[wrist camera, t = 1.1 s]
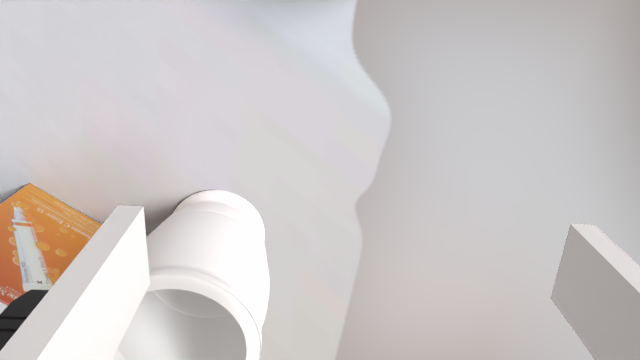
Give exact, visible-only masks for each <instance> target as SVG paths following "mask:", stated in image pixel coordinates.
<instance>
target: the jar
mask: <svg viewBox="0 0 640 360" xmlns="http://www.w3.org/2000/svg"><path fill="white" fill-rule="evenodd" d="M146 241H147V253H148V265H149V276H150V285H149V287H148V289H147V291H146V293H145V295H144V297H143V299H142V301H141V303H140V305H139V306H138V308H137V310H136V312H135V314H134V316H133V318H132V320H131V322H130V324H129V326H128V328H127V330H126V332H125V334H124V336H123V338H122V340H121V342H120V344H119V346H118V348H117V350H116V352H115V354H114V356H113V358H112V360H260V356H261V348H262V335H261V328H262V326H263V323H264V319H265V316H266V312H267V307H268V301H269V289H270V281H269V270H268V265H267V255H266V249H265V245H264V241H265V229H264V224H263V221H262V219H261V217H260V215H259V213H258V212H257V210H256V209H255V208H254V207H253V206H252V205H251V204H250V203H249V202H248V201H247V200H245V199H244V198H242V197H241V196H239V195H236V194H234V193H231V192H228V191H222V190H207V191H202V192H199V193H196V194H193V195H191V196H189V197H188V198H186V199H185V200H184V201H182V202H181V203H180V204H179V205H178V206H177V208H176V209H175V210H174V212H173V214H172V215H171V216H169V217H168V218H167V219H166V220H164V221H163V222H162V223H161V224H160V225H159V226H158V227H157V228H156V229H155V230H154V231H152V232H151V233H150V234H149V235H148V236H147V237H146Z"/></svg>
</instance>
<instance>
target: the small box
mask: <svg viewBox="0 0 640 360" xmlns="http://www.w3.org/2000/svg"><path fill="white" fill-rule="evenodd" d="M101 225H102V224H100V223H99V222H97V221H95V220H93V219H91V218H90V217H88V216H86V215H84V214H83V213H81V212H79V211H77V210H75V209H74V208H72V207H70V206H68V205H67V204H65V203H63V202H61V201H60V200H58V199H56V198H55V197H53V196H51V195H49V194H48V193H46V192H44V191H43V190H41V189H39V188H37V187H36V186H34V185H32V184H31V183H28V184H27V185H25V186H24V187H23V188H21V189H20V190H19V191H17V192H16V193H15V194H13V195H12V196H10V197H9V198H8V199H6V200H5V201H4V202H2V203H1V204H0V314H1V313H2V312H3V311H4V310H5V308H6V307H7V306H8V305H9V304H10V303H11V302H12V301H13V300H15V299H17V298H18V297H20V296H21V295H23V294H25V293H26V292H28V291H29V290H31V289H34V290H50V289H51V288H52V286H53V285H54V284H55V283H56V281H57V280H58V279H59V278H60V276H61V275H62V274H63V273H64V271H65V270H66V269H67V268H68V266H69V265H70V264H71V263H72V261H73V260H74V259H75V258H76V257H77V255H78V254H79V253H80V252H81V250H82V249H83V248H84V247H85V245H86V244H87V243H88V242H89V240H90V239H91V238H92V237H93V235H94V234H95V233H96V232H97V230H98V229H99V228H100V227H101Z"/></svg>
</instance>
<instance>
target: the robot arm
mask: <svg viewBox="0 0 640 360" xmlns="http://www.w3.org/2000/svg"><path fill="white" fill-rule="evenodd" d="M149 285H150V276H149V265H148V253H147V241H146V229H145V218H144V206H126V205H118V206H117V207H116V208H115V209H114V211H113V212H112V213H111V214H110V216H109V217H108V218H107V219H106V220H105V222H104V223H103V224H102V225H101V227H100V228H99V229H98V230H97V232H96V233H95V234H94V235H93V237H92V238H91V239H90V240H89V242H88V243H87V244H86V245H85V247H84V248H83V249H82V250H81V252H80V253H79V254H78V255H77V257H76V258H75V259H74V260H73V261H72V263H71V264H70V265H69V266H68V268H67V269H66V270H65V271H64V273H63V274H62V275H61V276H60V278H59V279H58V280H57V281H56V283H55V284H54V285H53V286H52V288H51V289H50V290H34V289H31V290H29V291H28V292H26V293H25V294H23V295H21V296H20V297H18V298H17V299H15V300H13V301H12V302H11V303H10V304H9V305H8V306H7V307H6V308H5V310H4V311H3V312H2V313H1V314H0V360H112V358H113V356H114V354H115V352H116V350H117V348H118V346H119V344H120V342H121V340H122V338H123V336H124V334H125V332H126V330H127V328H128V326H129V324H130V322H131V320H132V318H133V316H134V314H135V312H136V310H137V308H138V306H139V305H140V303H141V301H142V299H143V297H144V295H145V293H146V291H147V289H148V287H149ZM551 299H552V301H553V302H554V303H555V305H556V306H557V308H558V309H559V310H560V312H561V313H562V314H563V316H564V317H565V319H566V320H567V322H568V323H569V324H570V326H571V327H572V328H573V330H574V331H575V333H576V334H577V335H578V337H579V338H580V339H581V341H582V342H583V344H584V345H585V347H586V348H587V349H588V351H589V352H590V353H591V355H592V356H593V358H594V359H595V360H640V266H639V265H638V264H637V263H636V262H635V261H633V260H632V259H631V258H630V257H629V256H628V255H627V254H626V253H625V252H624V251H623V250H621V249H620V248H619V247H618V246H617V245H616V244H615V243H614V242H613V241H612V240H611V239H609V238H608V237H607V236H606V235H605V234H604V233H603V232H602V231H601V230H600V229H599V228H597V227H596V226H595V225H585V224H570V228H569V231H568V235H567V239H566V243H565V246H564V250H563V254H562V257H561V261H560V265H559V269H558V272H557V276H556V280H555V284H554V288H553V291H552V295H551Z"/></svg>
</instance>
